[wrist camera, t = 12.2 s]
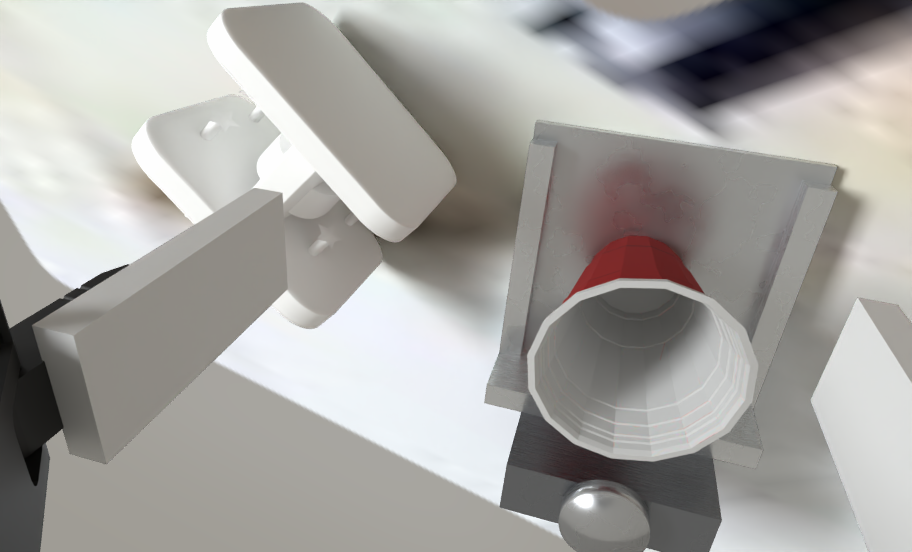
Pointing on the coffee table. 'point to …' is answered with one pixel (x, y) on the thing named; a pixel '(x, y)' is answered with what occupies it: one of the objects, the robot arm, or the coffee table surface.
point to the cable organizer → (301, 151)
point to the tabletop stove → (714, 268)
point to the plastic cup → (641, 358)
